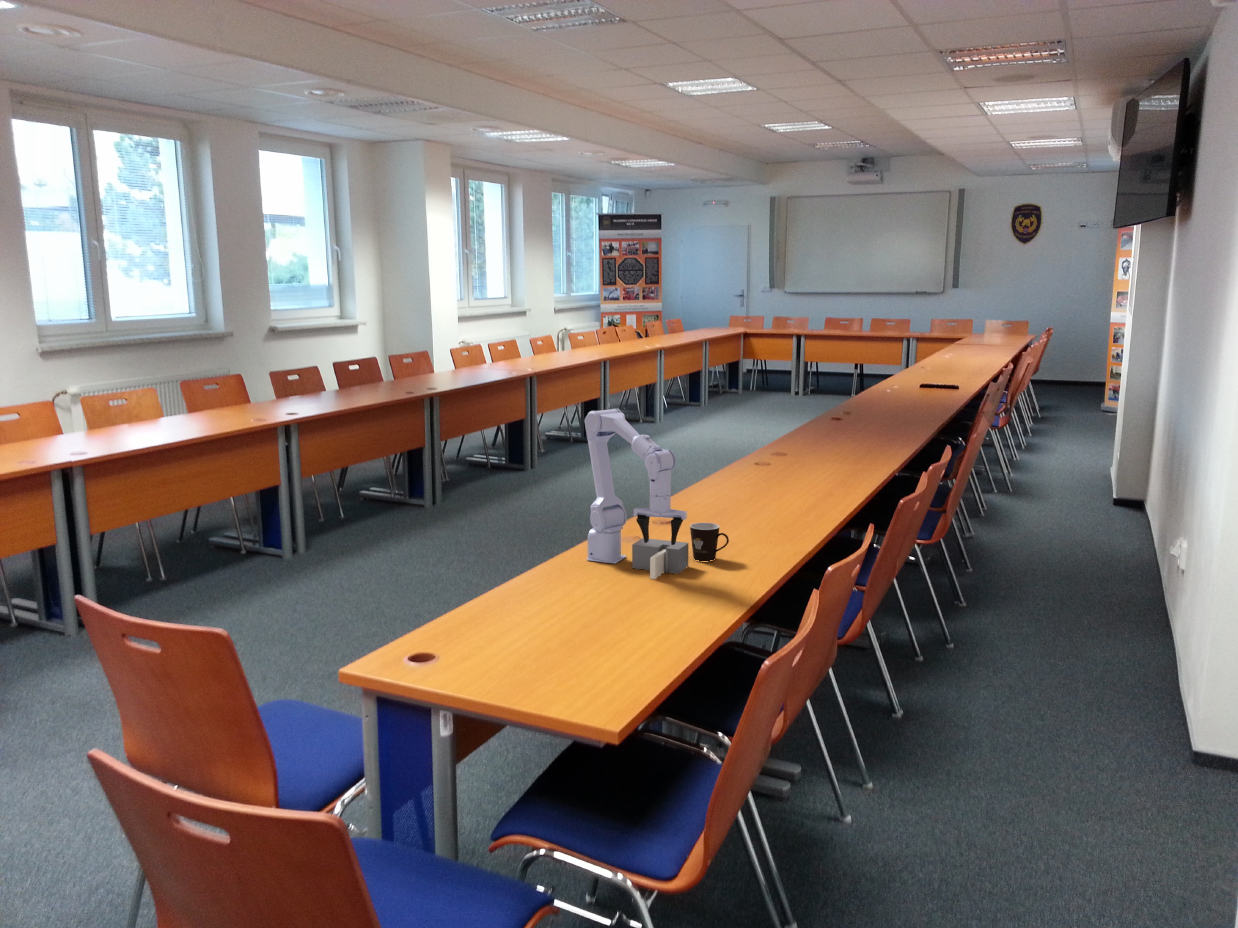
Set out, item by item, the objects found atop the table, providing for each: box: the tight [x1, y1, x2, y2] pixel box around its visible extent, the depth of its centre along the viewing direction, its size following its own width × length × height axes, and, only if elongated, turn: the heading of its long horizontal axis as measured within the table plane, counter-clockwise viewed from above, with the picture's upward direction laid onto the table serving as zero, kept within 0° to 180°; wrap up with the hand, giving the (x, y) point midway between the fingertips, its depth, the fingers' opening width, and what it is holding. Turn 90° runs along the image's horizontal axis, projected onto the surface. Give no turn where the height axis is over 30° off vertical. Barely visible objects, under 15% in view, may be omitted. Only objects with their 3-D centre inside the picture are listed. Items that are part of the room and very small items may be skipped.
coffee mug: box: [689, 522, 730, 561], centre depth 270 cm, size 12×9×10 cm
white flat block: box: [649, 549, 666, 580], centre depth 258 cm, size 2×10×6 cm, turn 156°
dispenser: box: [631, 537, 690, 575], centre depth 263 cm, size 14×9×7 cm, turn 66°
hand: (659, 542), depth 254 cm, fingers open, 7 cm apart
